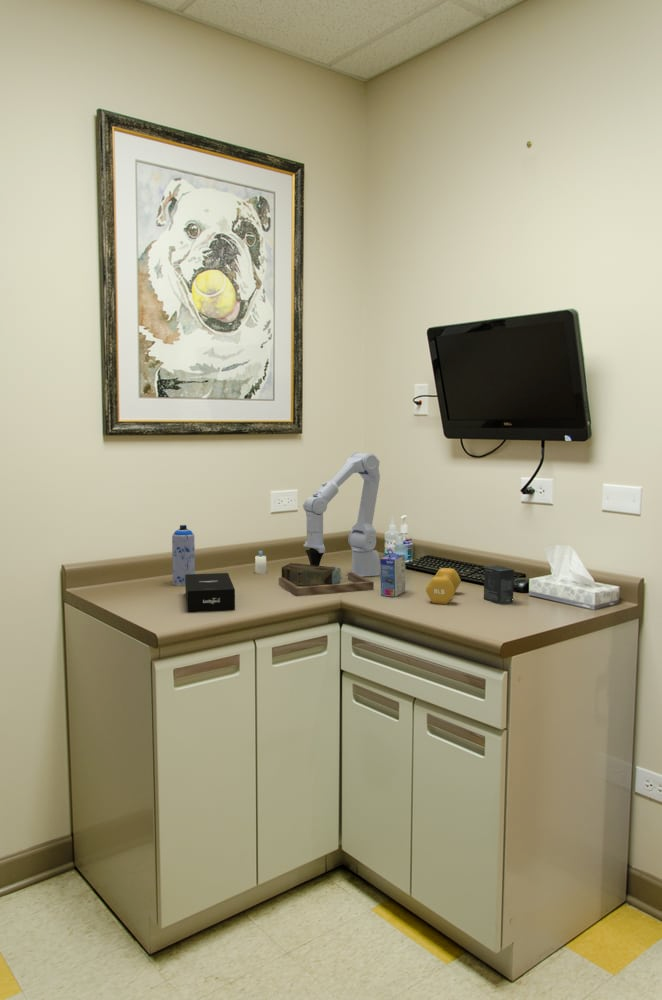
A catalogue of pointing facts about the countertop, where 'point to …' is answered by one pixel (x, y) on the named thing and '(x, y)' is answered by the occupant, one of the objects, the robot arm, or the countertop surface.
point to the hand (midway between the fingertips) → (314, 570)
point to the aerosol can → (182, 555)
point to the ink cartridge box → (392, 574)
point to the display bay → (329, 586)
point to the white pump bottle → (260, 563)
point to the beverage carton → (311, 574)
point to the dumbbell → (443, 586)
